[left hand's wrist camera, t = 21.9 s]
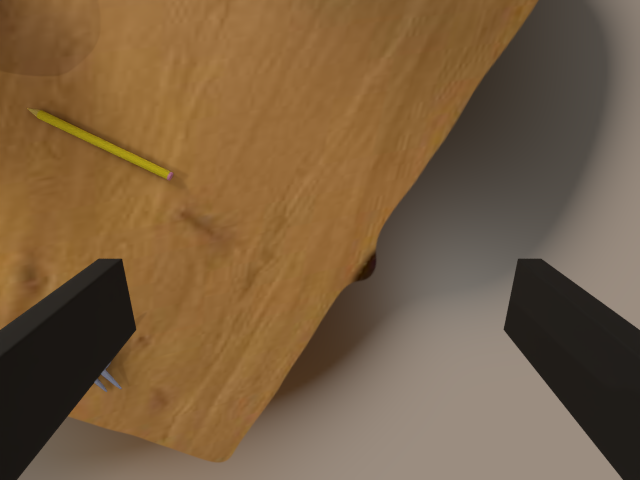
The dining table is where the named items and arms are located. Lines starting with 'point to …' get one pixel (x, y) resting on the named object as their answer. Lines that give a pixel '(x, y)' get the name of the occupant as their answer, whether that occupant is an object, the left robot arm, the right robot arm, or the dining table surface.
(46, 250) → the dining table surface
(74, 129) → the pencil
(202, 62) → the dining table surface
